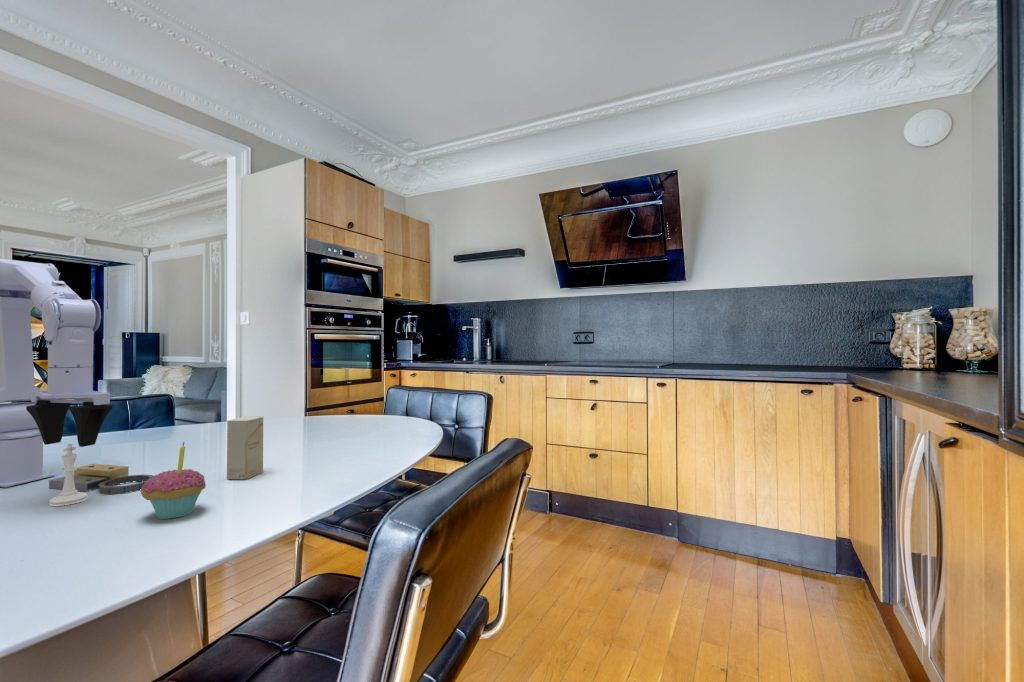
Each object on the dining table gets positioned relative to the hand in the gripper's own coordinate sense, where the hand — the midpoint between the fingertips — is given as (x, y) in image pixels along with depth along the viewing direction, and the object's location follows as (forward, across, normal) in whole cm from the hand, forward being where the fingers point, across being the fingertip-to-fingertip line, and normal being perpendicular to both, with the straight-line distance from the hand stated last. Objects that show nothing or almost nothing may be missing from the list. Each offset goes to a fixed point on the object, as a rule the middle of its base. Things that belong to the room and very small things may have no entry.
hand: (69, 444), depth 80 cm
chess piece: (+10, 0, 0) cm, 10 cm away
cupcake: (+10, +23, -1) cm, 25 cm away
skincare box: (+10, +18, +20) cm, 29 cm away
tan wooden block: (+10, -7, +11) cm, 16 cm away
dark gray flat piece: (+10, -3, +8) cm, 13 cm away
